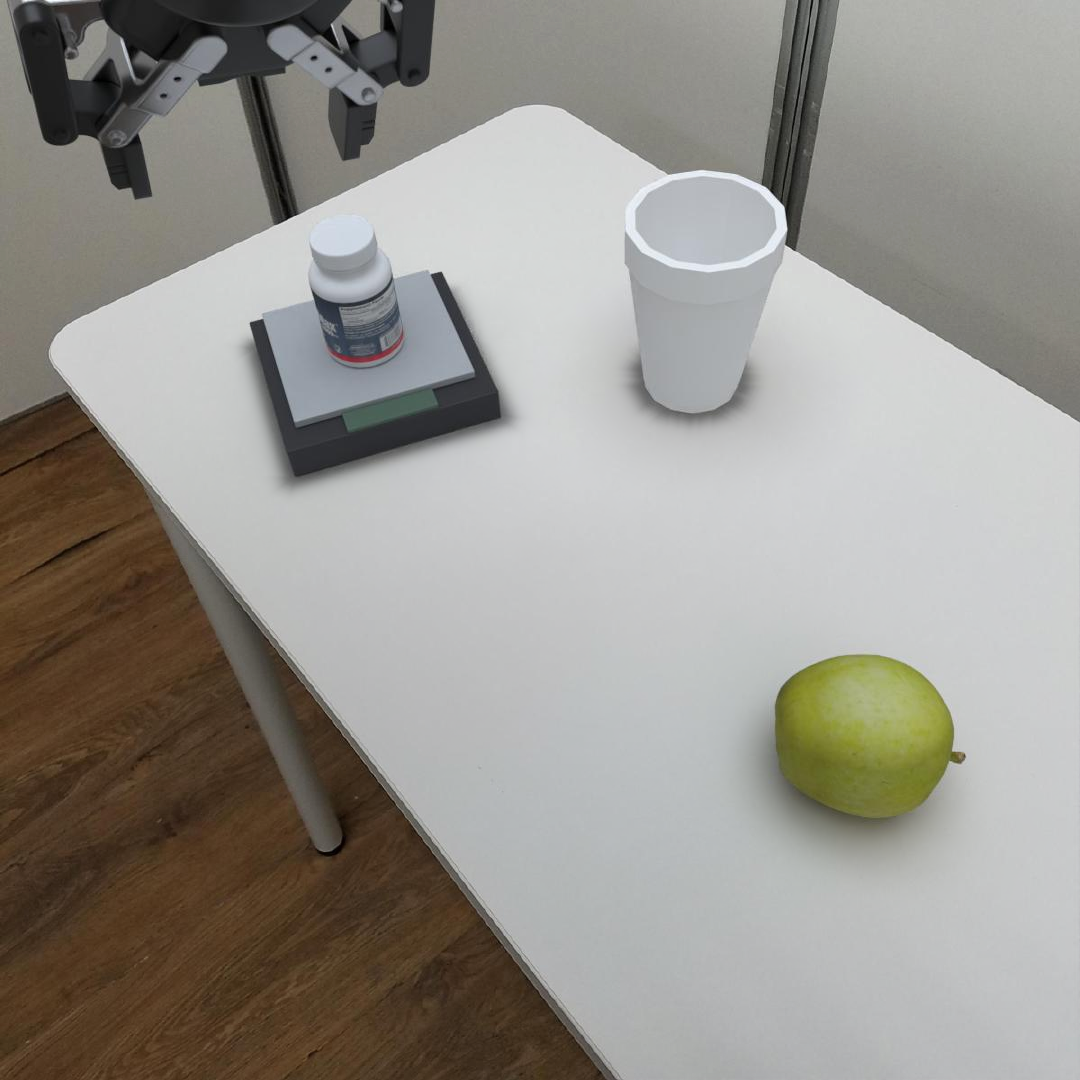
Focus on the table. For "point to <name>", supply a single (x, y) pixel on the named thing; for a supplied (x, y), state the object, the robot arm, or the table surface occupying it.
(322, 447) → the scale
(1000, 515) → the table surface
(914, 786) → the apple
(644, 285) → the foam cup
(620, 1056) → the table surface
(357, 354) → the pill bottle
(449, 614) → the table surface
